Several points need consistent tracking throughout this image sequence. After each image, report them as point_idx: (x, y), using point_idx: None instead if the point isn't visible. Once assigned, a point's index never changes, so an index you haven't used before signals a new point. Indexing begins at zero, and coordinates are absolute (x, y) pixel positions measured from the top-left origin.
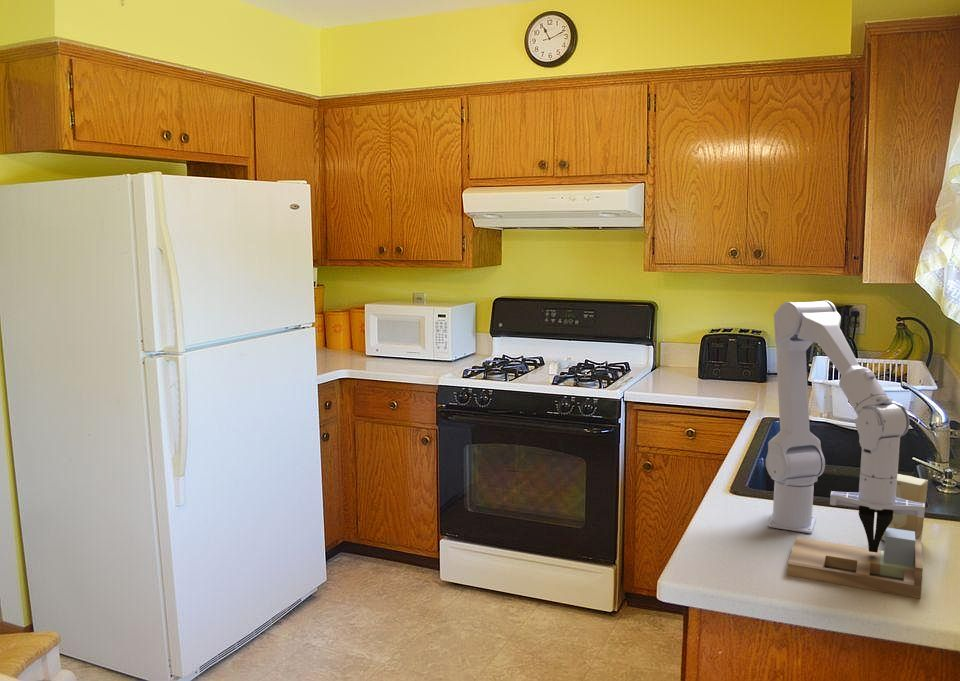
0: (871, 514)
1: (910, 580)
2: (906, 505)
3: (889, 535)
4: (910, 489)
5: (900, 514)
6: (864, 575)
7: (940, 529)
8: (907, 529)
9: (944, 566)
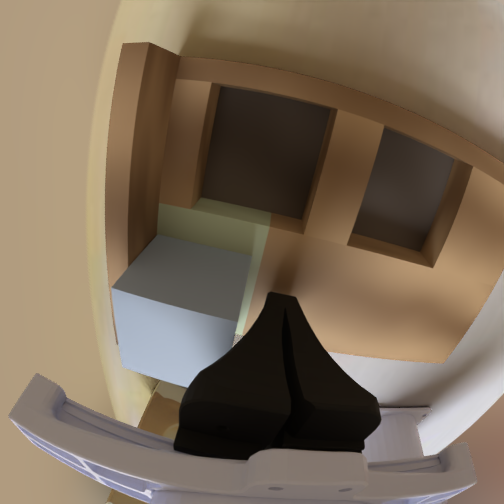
0: (308, 428)
1: (185, 95)
2: (79, 457)
3: (216, 330)
4: (138, 499)
5: None
6: (358, 102)
7: (129, 423)
8: (166, 415)
9: (103, 304)
